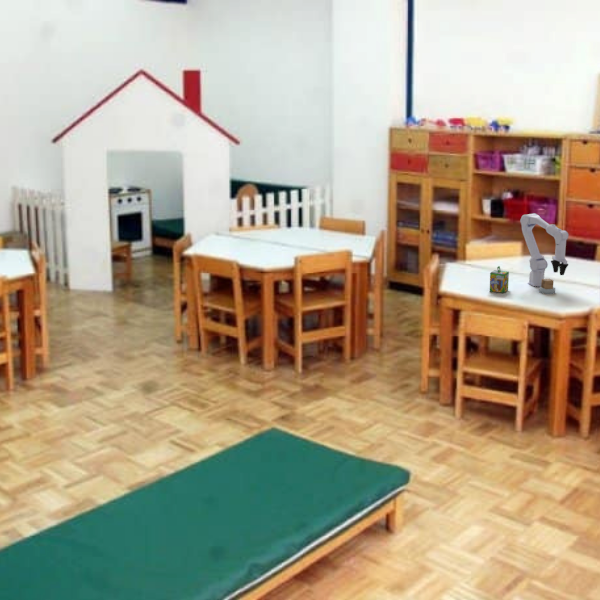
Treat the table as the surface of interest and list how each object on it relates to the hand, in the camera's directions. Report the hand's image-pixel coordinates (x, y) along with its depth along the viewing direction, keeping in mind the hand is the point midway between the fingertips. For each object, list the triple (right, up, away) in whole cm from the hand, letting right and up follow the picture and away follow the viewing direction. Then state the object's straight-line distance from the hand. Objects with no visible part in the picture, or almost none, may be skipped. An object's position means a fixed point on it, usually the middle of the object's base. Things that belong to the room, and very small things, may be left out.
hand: (558, 273), depth 523 cm
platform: (-8, -11, -3) cm, 14 cm away
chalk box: (-35, -10, +1) cm, 37 cm away
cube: (-8, -9, -4) cm, 12 cm away
